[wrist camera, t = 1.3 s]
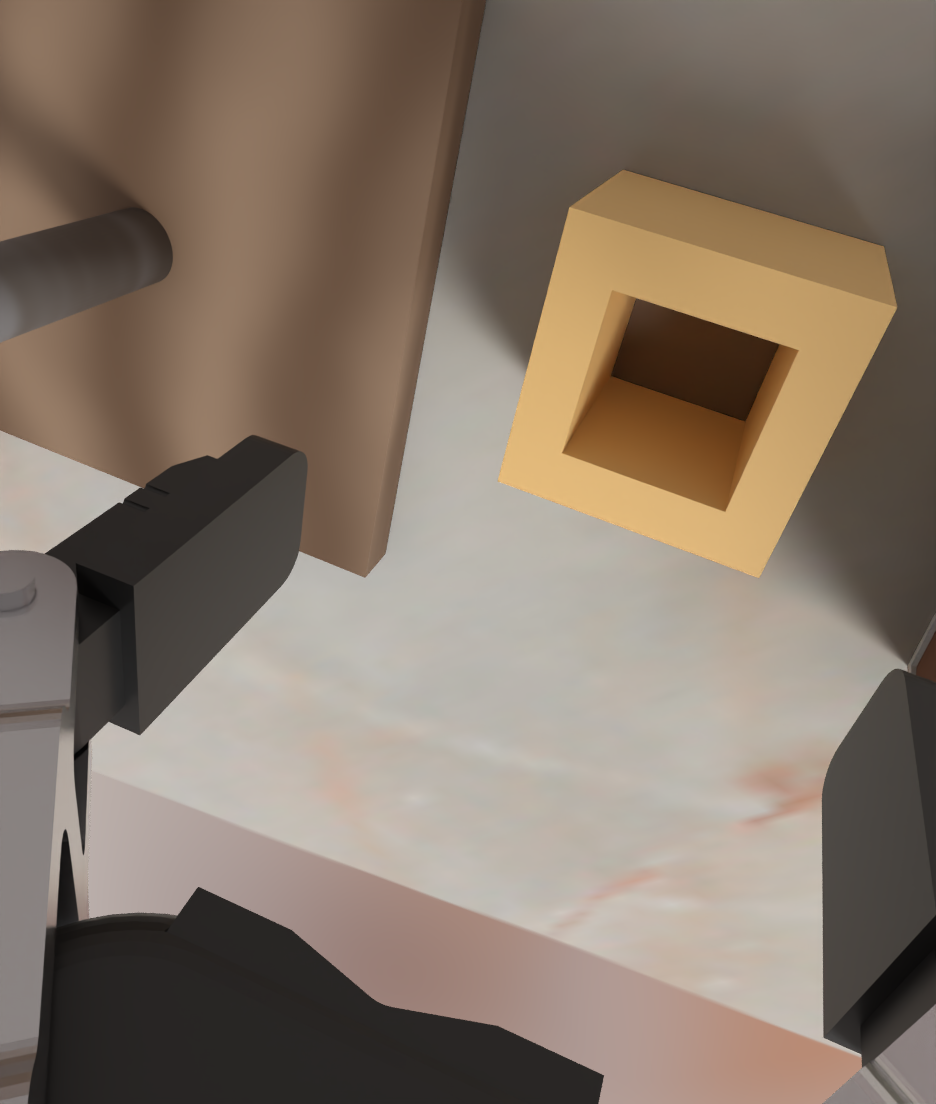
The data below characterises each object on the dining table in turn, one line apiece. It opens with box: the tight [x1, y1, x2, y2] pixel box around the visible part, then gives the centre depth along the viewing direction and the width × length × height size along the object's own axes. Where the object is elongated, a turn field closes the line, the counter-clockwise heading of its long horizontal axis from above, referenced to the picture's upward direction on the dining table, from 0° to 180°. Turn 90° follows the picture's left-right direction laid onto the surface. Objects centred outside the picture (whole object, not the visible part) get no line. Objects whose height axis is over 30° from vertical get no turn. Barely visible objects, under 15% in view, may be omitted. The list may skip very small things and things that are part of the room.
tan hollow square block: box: [498, 170, 897, 578], centre depth 19 cm, size 6×6×5 cm
